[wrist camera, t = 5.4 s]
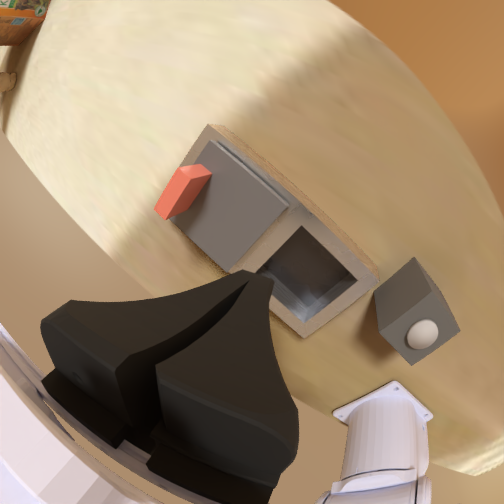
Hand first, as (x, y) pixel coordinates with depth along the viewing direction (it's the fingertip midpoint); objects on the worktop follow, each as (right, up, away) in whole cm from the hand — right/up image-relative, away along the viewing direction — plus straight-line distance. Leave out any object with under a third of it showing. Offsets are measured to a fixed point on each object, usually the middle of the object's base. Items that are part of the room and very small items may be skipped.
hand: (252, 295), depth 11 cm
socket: (+1, +3, +9) cm, 9 cm away
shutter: (-2, +4, +6) cm, 8 cm away
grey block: (+12, -1, +7) cm, 14 cm away
